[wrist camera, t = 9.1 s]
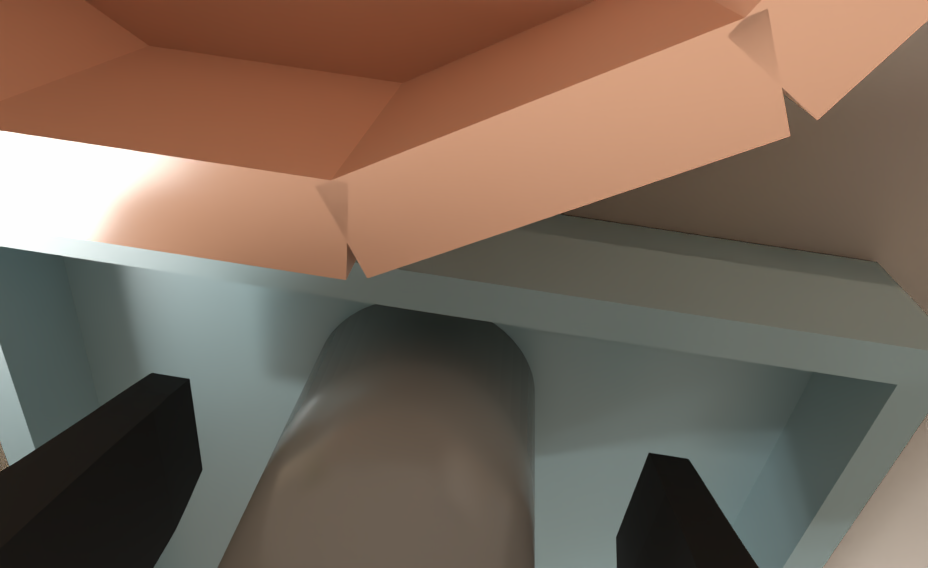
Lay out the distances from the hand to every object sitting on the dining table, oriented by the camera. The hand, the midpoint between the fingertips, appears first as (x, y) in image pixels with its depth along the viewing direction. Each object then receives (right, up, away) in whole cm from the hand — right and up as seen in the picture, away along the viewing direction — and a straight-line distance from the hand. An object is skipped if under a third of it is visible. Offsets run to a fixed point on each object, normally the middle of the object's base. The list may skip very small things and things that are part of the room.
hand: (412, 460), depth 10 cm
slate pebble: (0, +1, +2) cm, 2 cm away
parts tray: (0, -2, +4) cm, 4 cm away
